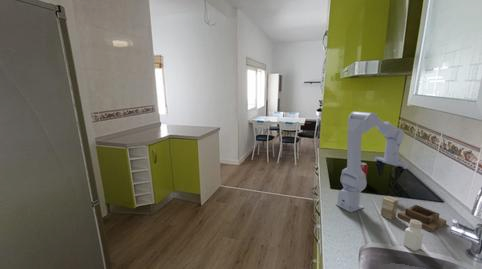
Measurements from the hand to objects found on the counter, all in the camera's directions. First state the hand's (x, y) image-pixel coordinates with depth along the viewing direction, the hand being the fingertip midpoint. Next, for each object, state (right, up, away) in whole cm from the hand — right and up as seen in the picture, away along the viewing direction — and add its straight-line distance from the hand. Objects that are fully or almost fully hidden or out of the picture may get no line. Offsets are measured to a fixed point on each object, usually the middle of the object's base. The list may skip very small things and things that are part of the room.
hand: (388, 177), depth 110 cm
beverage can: (-4, -7, +19) cm, 21 cm away
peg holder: (0, -14, -20) cm, 24 cm away
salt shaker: (-16, -17, -36) cm, 43 cm away
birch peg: (-11, -13, -17) cm, 24 cm away
